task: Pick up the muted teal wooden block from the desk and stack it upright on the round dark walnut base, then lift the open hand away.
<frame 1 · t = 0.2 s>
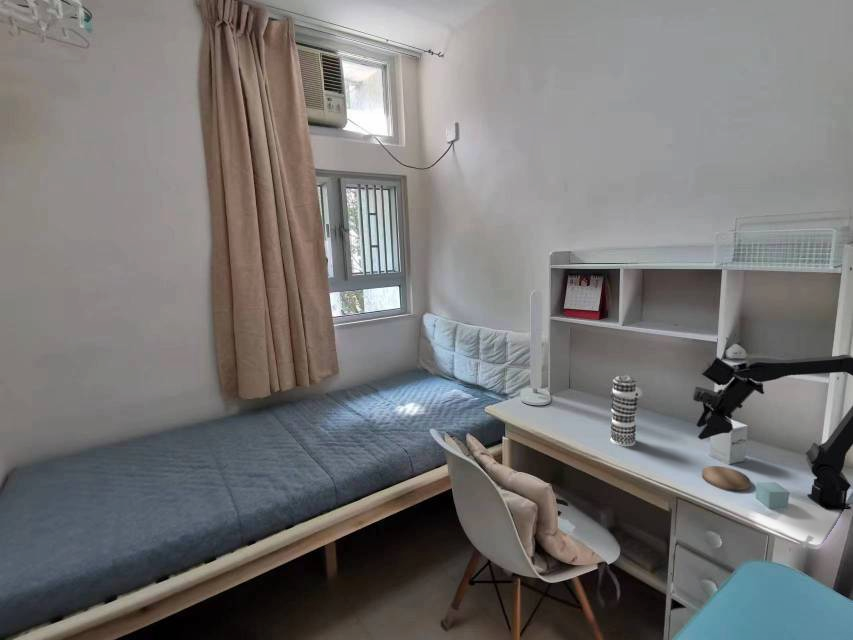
hand: (698, 432, 131), 15 cm above the table, tool tilted 30°, fingers open, 9 cm apart
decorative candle: (622, 441, 159), on the table
supplement box: (726, 458, 143), on the table
walnut base: (725, 480, 130), on the table
teal block: (771, 503, 118), on the table
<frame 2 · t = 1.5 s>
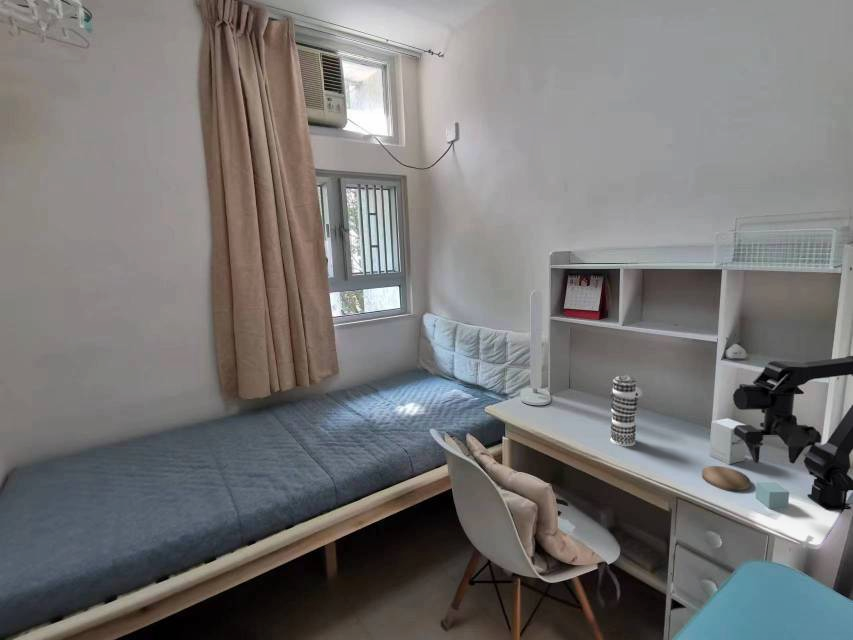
hand: (773, 462, 116), 12 cm above the table, tool pointing down, fingers open, 9 cm apart
nothing on the table moved.
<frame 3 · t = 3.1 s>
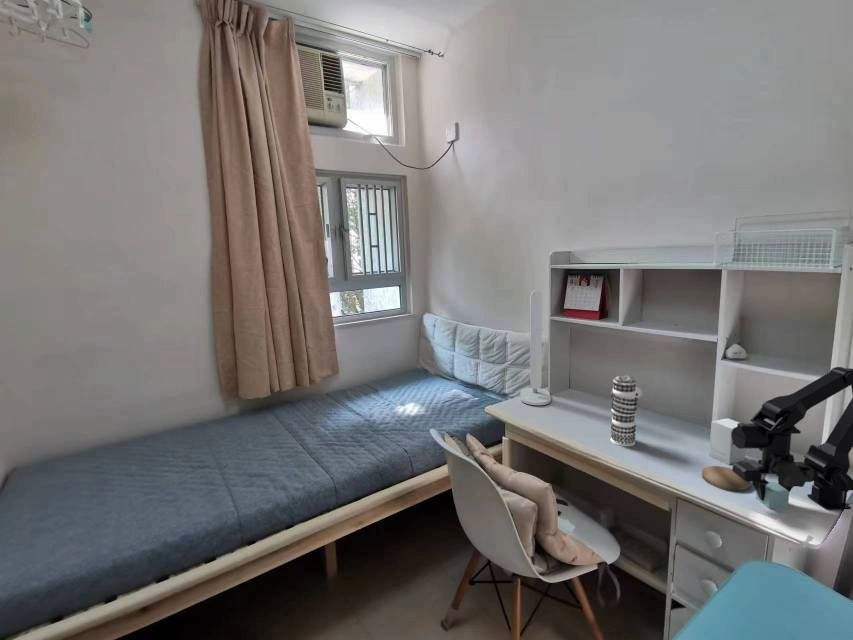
hand: (771, 499, 118), 1 cm above the table, tool pointing down, fingers closed on teal block, 5 cm apart
teal block: (771, 503, 118), on the table, touching gripper
everything else where it was.
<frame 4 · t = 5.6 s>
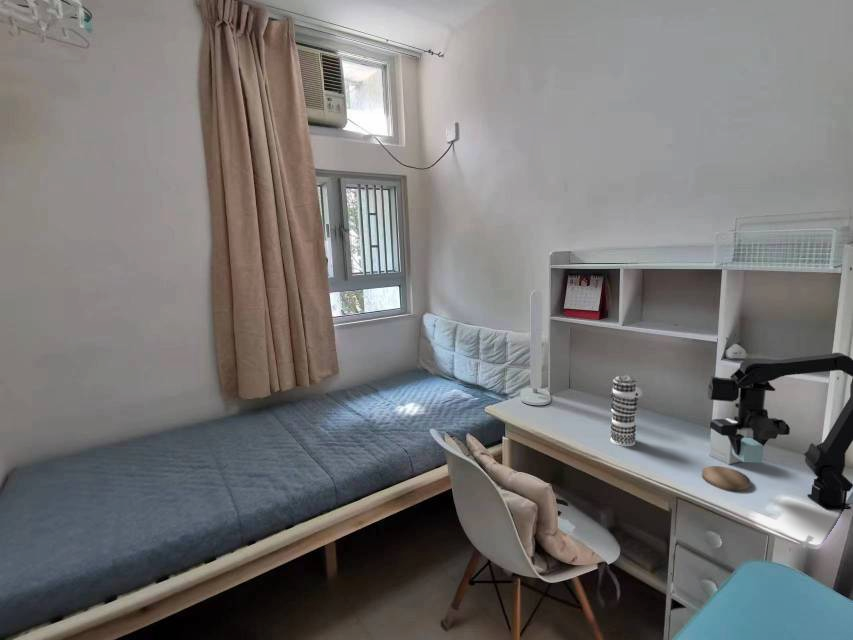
hand: (746, 454, 123), 11 cm above the table, tool pointing down, fingers closed on teal block, 5 cm apart
teal block: (746, 457, 123), point 10 cm above the table, touching gripper
everything else where it was.
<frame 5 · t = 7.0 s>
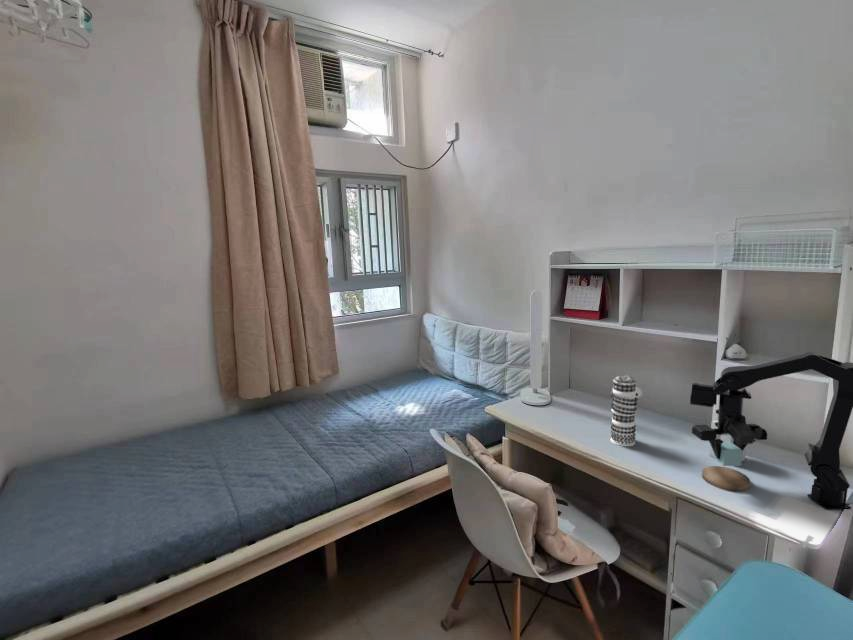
hand: (727, 458, 129), 7 cm above the table, tool pointing down, fingers closed on teal block, 5 cm apart
teal block: (727, 461, 129), point 6 cm above the table, touching gripper
everything else where it was.
when the fingers open (4 cm above the table, at t = 8.1 s): teal block drops 1 cm, resting on walnut base.
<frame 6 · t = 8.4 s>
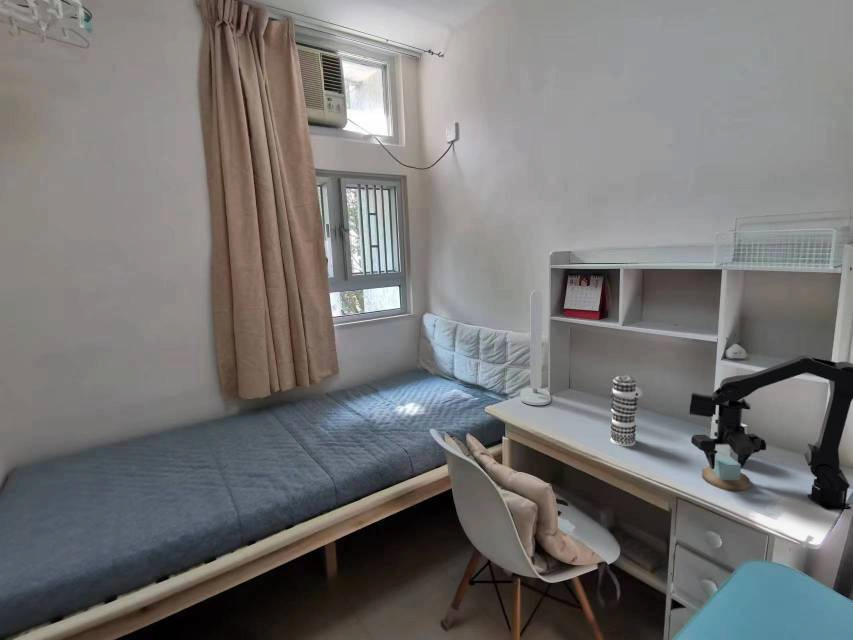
hand: (726, 468, 129), 4 cm above the table, tool pointing down, fingers open, 8 cm apart
teal block: (725, 475, 130), point 1 cm above the table, touching walnut base
everything else where it was.
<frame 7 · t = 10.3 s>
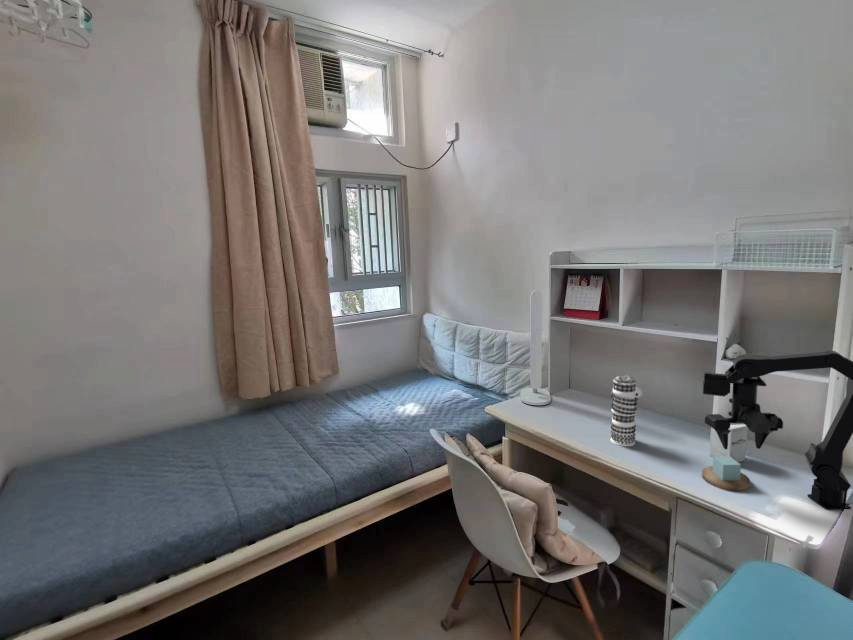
hand: (741, 448, 125), 12 cm above the table, tool pointing down, fingers open, 9 cm apart
nothing on the table moved.
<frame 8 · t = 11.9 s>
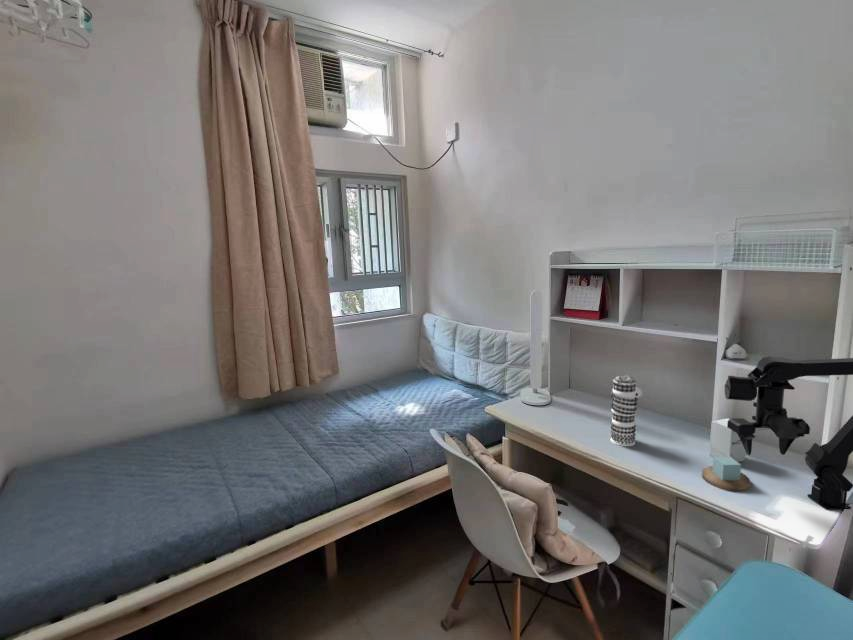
hand: (765, 454, 121), 12 cm above the table, tool pointing down, fingers open, 9 cm apart
nothing on the table moved.
at the end: teal block inside the target area on the walnut base (0.1 cm from its centre), point 1.5 cm above the walnut base's base; teal block tilted 0°; the gripper is holding nothing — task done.
